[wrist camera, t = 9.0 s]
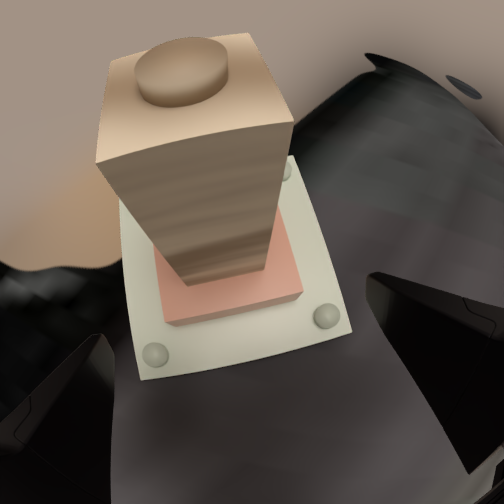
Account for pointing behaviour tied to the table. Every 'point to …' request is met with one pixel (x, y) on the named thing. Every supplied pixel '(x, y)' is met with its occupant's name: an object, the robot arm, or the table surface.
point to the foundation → (234, 297)
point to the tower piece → (198, 151)
